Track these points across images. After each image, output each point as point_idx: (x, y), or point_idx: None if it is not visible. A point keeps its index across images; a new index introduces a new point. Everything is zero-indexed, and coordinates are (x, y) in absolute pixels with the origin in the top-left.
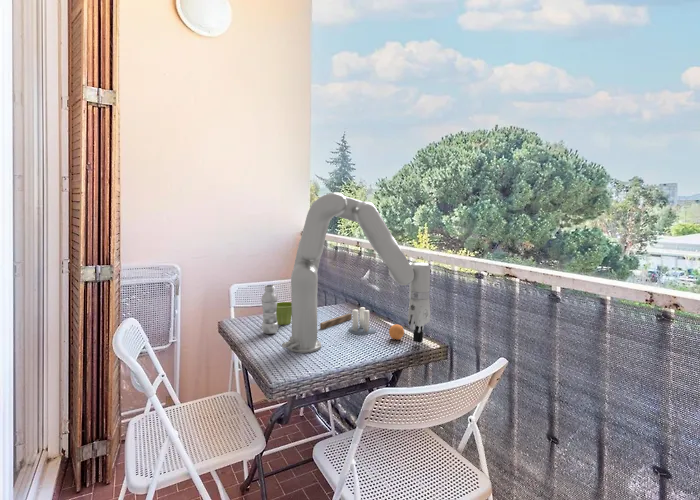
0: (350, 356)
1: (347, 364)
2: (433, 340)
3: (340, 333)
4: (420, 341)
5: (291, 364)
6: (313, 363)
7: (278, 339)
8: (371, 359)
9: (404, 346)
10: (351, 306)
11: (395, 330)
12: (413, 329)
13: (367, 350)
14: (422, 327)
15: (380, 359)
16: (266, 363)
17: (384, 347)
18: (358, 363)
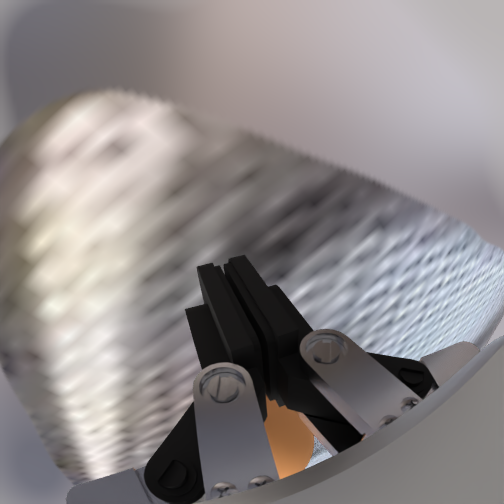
0: (468, 307)
1: (498, 266)
2: (5, 269)
3: (327, 454)
4: (248, 260)
5: (493, 318)
6: (493, 307)
7: None
8: (478, 256)
9: (321, 301)
10: None
11: (312, 440)
12: (461, 344)
13: (428, 329)
14: (258, 420)
15: (476, 237)
16: (489, 335)
17: (384, 333)
18: (495, 255)
